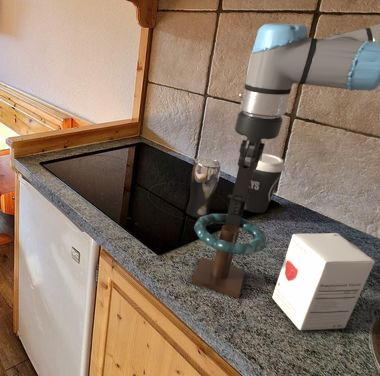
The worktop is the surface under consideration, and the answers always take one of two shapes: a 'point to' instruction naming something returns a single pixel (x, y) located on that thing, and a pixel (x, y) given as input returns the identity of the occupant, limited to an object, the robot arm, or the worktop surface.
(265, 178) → the coffee cup
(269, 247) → the worktop surface
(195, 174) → the beer glass
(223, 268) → the post
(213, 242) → the ring
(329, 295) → the rectangular carton
